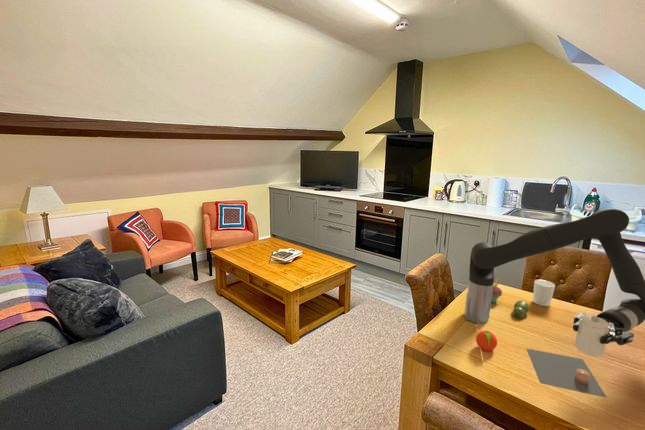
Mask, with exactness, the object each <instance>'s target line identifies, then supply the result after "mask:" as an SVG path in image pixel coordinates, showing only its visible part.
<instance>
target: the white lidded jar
mask: <svg viewBox="0 0 645 430" xmlns="http://www.w3.org/2000/svg"><path fill="white" fill-rule="evenodd" d="M596 316H597V315H593V314H592V315H591V314H586V315H583V316H582V317H581V318H580V321H579V326H578V331H577V332H576V336H575V340H574V346H575V348H576V349H577V351H578V352H581V353H584V354H585V355H587V356H591V357H596V358H600V357H601V356H604V353H605V349H606V348H605V347H606V345H607V344H601V343H600V340H601V337H602V336H604V335H606V334H608V332H609V328H610V327H609V323H608V322H607V321H605V320H604V319H602V318H599V317H596Z"/></svg>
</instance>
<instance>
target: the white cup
mask: <svg viewBox="0 0 645 430" xmlns="http://www.w3.org/2000/svg"><path fill="white" fill-rule="evenodd" d="M555 287H556V284H555V283H554V282H552V281H549V280H546V279H545V280H544V279H535V280H534V284H533V293H532V294H533V296H532V302H533V303H534V304H536V305H539V306H542V307H549V306H550V305H551V302H552V299H553V295H554V291H555Z"/></svg>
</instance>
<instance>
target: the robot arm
mask: <svg viewBox="0 0 645 430" xmlns="http://www.w3.org/2000/svg"><path fill="white" fill-rule="evenodd" d="M629 224H630V217H629V215H628V214H627V213H626V212H625V211H623V210H622V209H618V208H615V207H614V208H611V207H610V208H609V207H608V208H603V209H598V210H596V211H594V212H592V213H591V214H590V215H588V216H586V217H585V216H584V217H583V218H580V219H575V220H571V221H566V222H560V223H556V224H550V225H547V226H542V227H538V228H536V229H531V230H529V231H527V232H525V233H523V234H522V235H519V236H518V237H517V238H515V239H513V240H511V241H509V242H507V243H504V244H500V245H495V246H493V245H491V244H490V243H488V242H479V243H478V242H477V243H476V244H475V245H474V246H473V247H472V249H471V252H470V259H469V271H468V272H469V276H468V277H469V278H468V286H467V293H466V296H465V305H464V319H465V320H467V321H469V322H471V323H474V324H485V323H489V319H490V315H491V314H490V312H491V304H492V302H491V299H492V291H493V285H495V271H494V270H495V268H498V267H500V266H503V265H505V264H508V263H510V262H515V261H516V260H520V259H525V258H530V257H532V256H536V255H539V254H540V255H541V254H544V253H548V252H552V251H555V250H558V249H561V248H564V247H568V246H571V245H574V244H576V243H579V242H582V241H586V240H588V239H592V238H597V239H598V241H599V243H600V244H601V247H602V249H603V250H604V253H605V254H606V257H607V259H608V261H609V263H610V266H611V269H612V272H613V274H614V277H615V279H616V282H617V284H618V286H619V288H620V291H621V292H623V293H626V294H632V295H635V296H637V297H638V298H627V299H623V300H621V302H620V304H619V305H618V306H615V307H612V308H609V309H606V310H604V311H602V312H600V313H598V314H597V315H595V316H596V317H599V318H602V319H604V320H605V321H607V322H608V323H609V327H610V328H609V332H608V334H606V335H604V336H602V337H601V340H600V343H601V344H606V345H608V344H610V343H616V344H617V345H618V346H624V345H628V344H630V343H632V342H633V341H634V338H635V333H634V332H630V331H632V330H633V329H635V328H636V327H637V326H639V325H641V324H642V323H644V321H645V278H644V275H643V273H642V271H641V268H640V267H639V264H638V263H637V262H636V260H635V258H634V257H633V255H632V254H631V252H630V251H629V249H628V248H627V246H626V245H625V243H624V240H623V238H622V234H621V233H622V232H624V230H626V229H627V227H628V226H629ZM583 315H587V313H585V312H582V311H581V312H580V313H578V314H576V315H575V316H574V317H573V325H572V329H573V331H574V332H576V333H577V331H578V326H579V321H580V318H581V317H582V316H583Z"/></svg>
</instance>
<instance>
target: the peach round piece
mask: <svg viewBox="0 0 645 430" xmlns="http://www.w3.org/2000/svg"><path fill="white" fill-rule="evenodd" d="M589 378H590V374H589V373H588V372H587V371H585V370H583V369H577V370H576V374H575V380H576V381H577V382H578V383H580V384H584V385H587V384H588V382H589Z"/></svg>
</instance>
